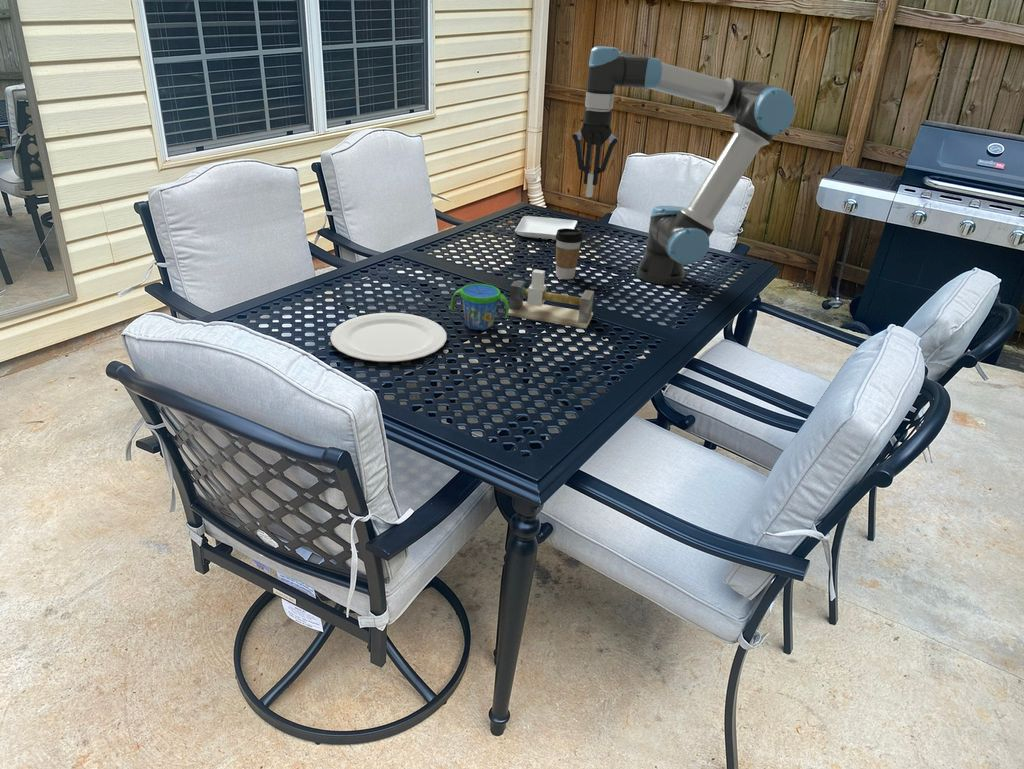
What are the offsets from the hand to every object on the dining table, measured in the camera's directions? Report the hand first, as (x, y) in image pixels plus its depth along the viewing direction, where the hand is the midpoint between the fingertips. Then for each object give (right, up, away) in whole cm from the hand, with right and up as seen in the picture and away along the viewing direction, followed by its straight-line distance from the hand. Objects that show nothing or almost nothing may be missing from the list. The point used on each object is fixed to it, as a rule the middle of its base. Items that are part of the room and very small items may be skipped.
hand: (589, 196), depth 211 cm
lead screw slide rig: (-11, -34, -3) cm, 36 cm away
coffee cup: (-5, -19, +26) cm, 33 cm away
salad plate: (-9, +3, +66) cm, 67 cm away
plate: (-53, -43, -23) cm, 72 cm away
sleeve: (-15, -31, -3) cm, 35 cm away
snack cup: (-31, -38, -12) cm, 51 cm away
